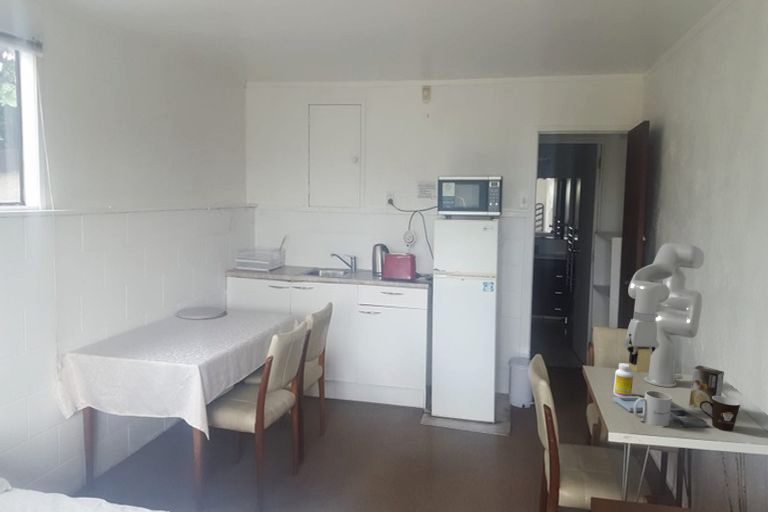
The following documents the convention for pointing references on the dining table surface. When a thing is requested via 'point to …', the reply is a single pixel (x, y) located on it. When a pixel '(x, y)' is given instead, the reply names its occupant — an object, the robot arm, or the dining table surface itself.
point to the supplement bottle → (623, 380)
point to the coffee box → (705, 387)
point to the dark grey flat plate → (689, 418)
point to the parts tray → (629, 403)
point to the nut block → (641, 360)
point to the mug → (655, 408)
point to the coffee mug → (723, 412)
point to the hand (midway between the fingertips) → (639, 363)
